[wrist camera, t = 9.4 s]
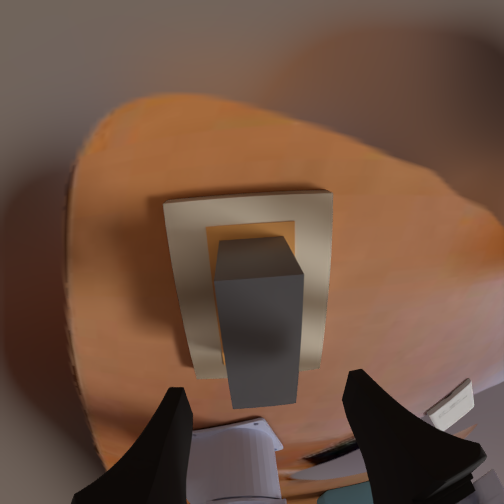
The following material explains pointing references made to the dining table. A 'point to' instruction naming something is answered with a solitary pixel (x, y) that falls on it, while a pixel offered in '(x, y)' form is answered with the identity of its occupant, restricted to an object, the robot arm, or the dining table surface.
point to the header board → (244, 227)
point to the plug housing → (260, 319)
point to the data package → (348, 495)
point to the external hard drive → (452, 406)
